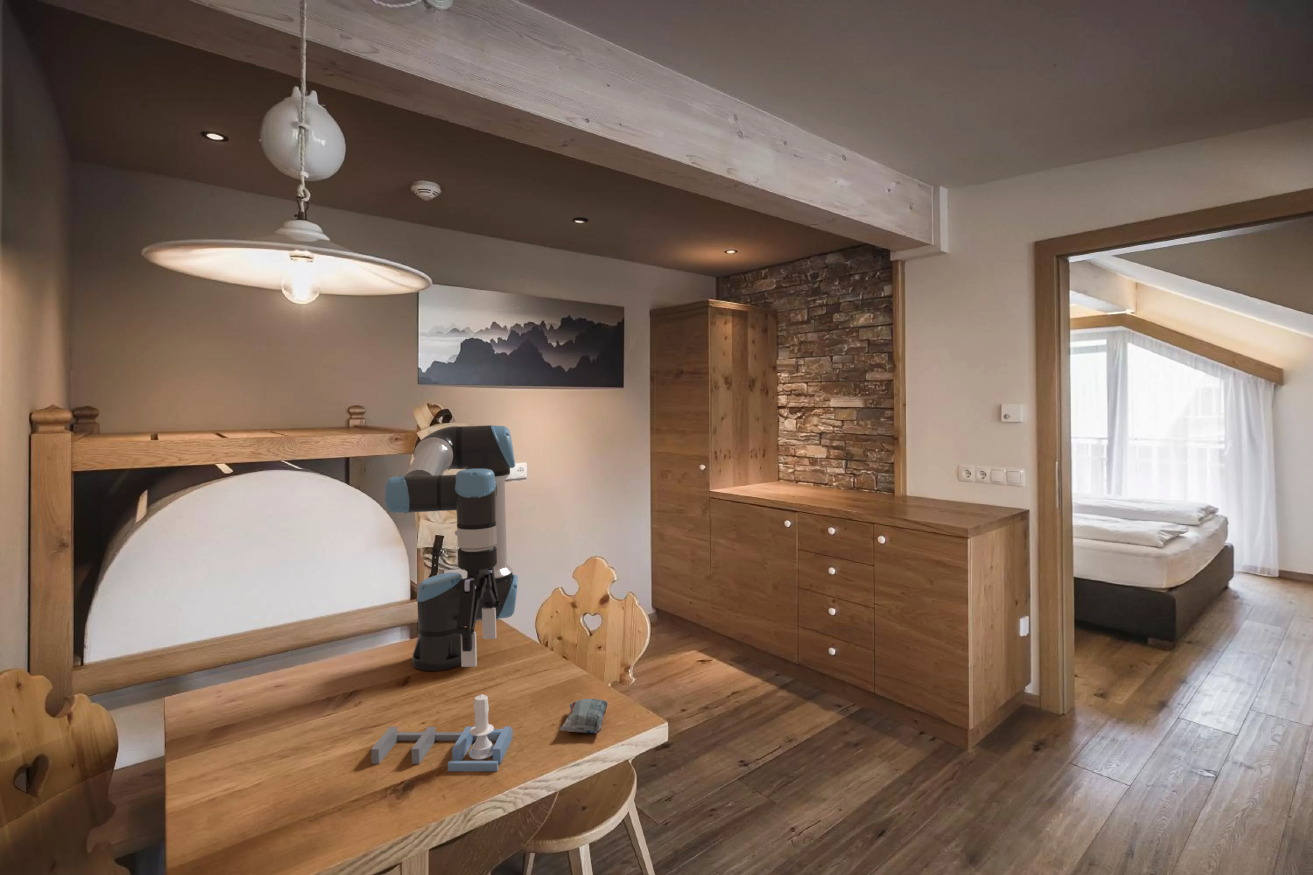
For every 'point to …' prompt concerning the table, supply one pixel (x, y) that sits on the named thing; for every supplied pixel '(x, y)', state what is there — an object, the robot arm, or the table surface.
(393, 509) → the robot arm
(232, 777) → the table surface
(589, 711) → the packaged food
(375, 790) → the table surface
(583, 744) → the table surface
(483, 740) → the candle
